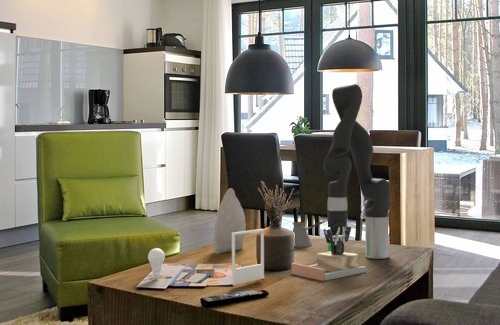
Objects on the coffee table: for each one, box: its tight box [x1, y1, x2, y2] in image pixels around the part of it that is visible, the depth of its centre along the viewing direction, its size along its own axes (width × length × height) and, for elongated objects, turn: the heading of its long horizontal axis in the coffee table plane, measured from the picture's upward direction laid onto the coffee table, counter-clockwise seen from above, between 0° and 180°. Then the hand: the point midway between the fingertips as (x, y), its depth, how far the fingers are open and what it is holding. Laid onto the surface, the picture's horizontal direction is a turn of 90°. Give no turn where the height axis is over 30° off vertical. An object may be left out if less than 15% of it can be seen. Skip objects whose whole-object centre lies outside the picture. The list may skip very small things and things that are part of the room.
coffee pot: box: [292, 220, 328, 248], centre depth 278 cm, size 21×12×15 cm, turn 44°
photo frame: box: [231, 228, 265, 286], centre depth 216 cm, size 15×1×18 cm, turn 133°
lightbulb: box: [147, 247, 166, 279], centre depth 222 cm, size 6×6×11 cm
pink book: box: [291, 262, 367, 282], centre depth 230 cm, size 24×16×4 cm
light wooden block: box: [316, 239, 359, 272], centre depth 233 cm, size 10×12×11 cm
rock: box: [212, 187, 247, 255], centre depth 268 cm, size 19×9×30 cm, turn 136°
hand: (337, 253), depth 233 cm, fingers closed on light wooden block, 3 cm apart
